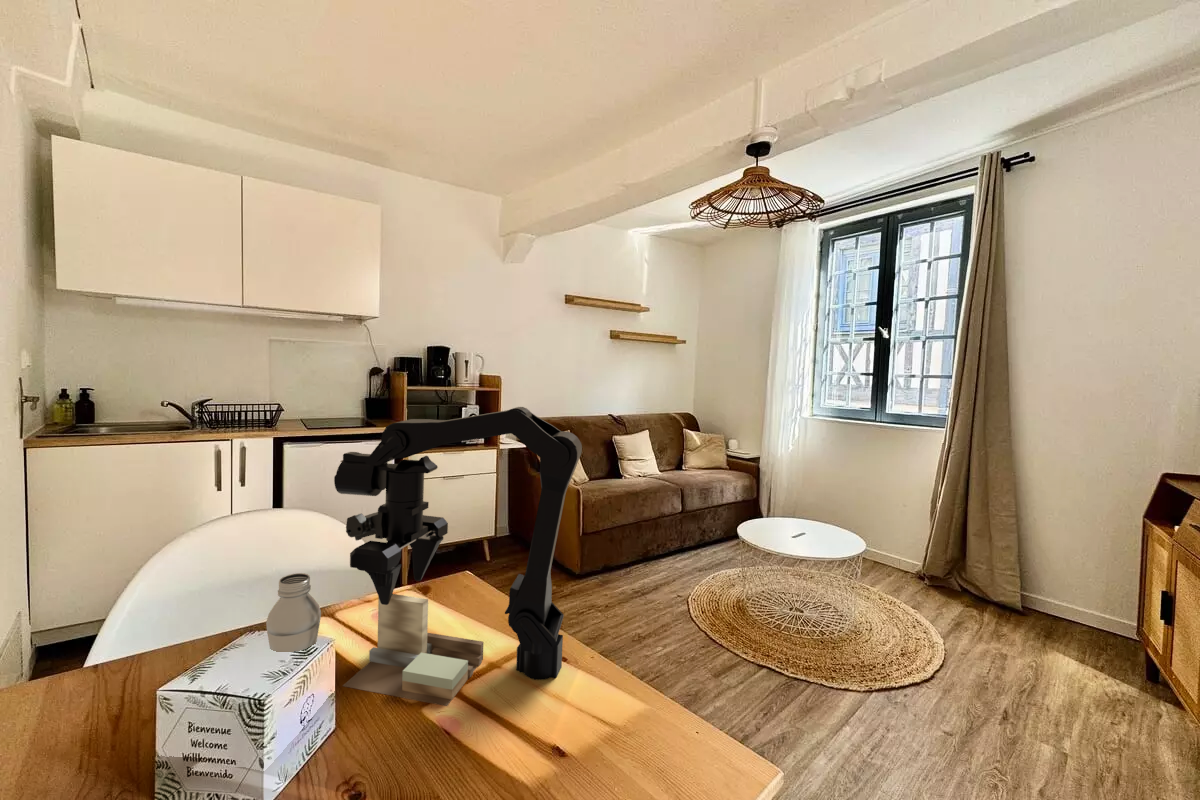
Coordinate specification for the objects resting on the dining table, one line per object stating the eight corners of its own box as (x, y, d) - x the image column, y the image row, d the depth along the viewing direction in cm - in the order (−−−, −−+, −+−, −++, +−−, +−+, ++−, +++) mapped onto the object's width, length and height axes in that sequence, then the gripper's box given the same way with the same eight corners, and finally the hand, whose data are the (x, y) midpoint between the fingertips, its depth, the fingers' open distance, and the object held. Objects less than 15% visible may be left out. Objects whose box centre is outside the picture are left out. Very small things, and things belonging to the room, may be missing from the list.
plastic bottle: (261, 745, 64) (262, 593, 63) (268, 712, 70) (268, 572, 69) (319, 731, 67) (321, 585, 66) (321, 700, 73) (322, 566, 72)
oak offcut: (467, 679, 78) (467, 669, 78) (451, 699, 73) (452, 689, 73) (420, 670, 80) (420, 661, 80) (402, 690, 75) (402, 680, 75)
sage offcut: (467, 669, 78) (468, 660, 78) (452, 689, 73) (452, 679, 73) (420, 661, 80) (421, 652, 79) (402, 680, 75) (402, 670, 75)
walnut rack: (483, 665, 84) (484, 641, 83) (448, 712, 72) (448, 685, 72) (389, 648, 87) (390, 626, 87) (340, 692, 75) (341, 666, 75)
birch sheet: (426, 658, 83) (428, 599, 82) (421, 663, 82) (422, 603, 81) (383, 650, 85) (384, 592, 84) (377, 655, 83) (378, 596, 83)
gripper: (394, 481, 92) (392, 564, 93) (318, 507, 74) (316, 610, 75) (450, 486, 90) (447, 572, 91) (386, 515, 72) (383, 622, 73)
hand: (402, 591), depth 82 cm, fingers open, 9 cm apart
